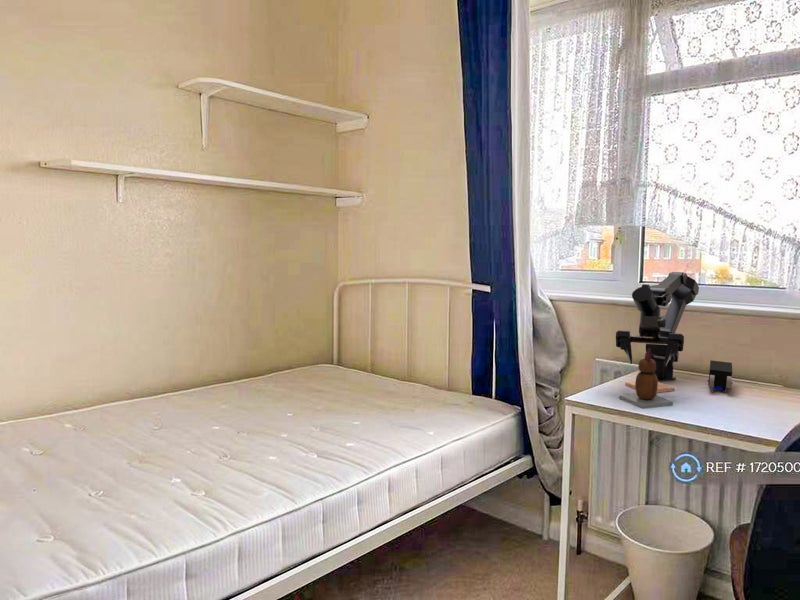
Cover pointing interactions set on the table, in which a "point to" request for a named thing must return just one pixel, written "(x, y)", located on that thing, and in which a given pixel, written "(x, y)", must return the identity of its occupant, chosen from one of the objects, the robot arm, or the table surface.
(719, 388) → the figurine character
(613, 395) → the table surface
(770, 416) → the table surface
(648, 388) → the wooden figurine
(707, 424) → the table surface
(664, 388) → the terracotta tile
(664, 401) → the slate tile
